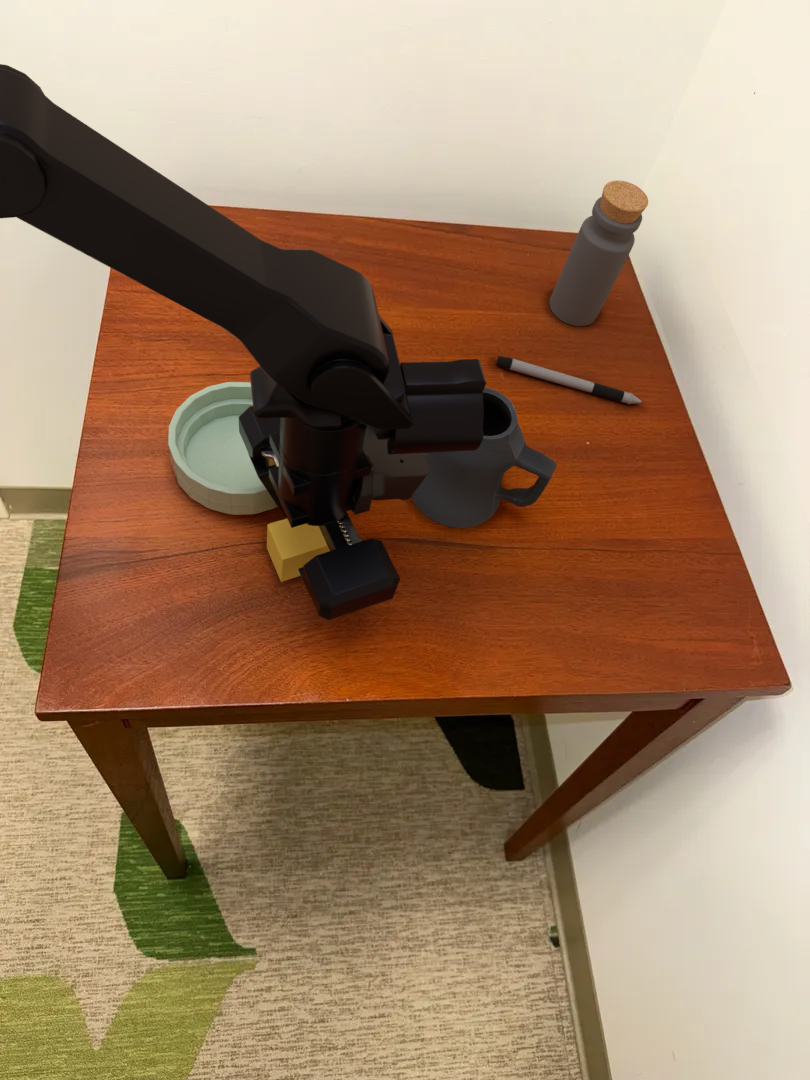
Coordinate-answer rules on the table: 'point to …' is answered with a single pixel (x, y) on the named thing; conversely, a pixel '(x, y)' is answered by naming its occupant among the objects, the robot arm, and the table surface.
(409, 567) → the table surface
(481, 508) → the mug
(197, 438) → the bowl
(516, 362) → the pen
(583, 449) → the table surface
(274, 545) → the sponge
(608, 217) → the bottle
